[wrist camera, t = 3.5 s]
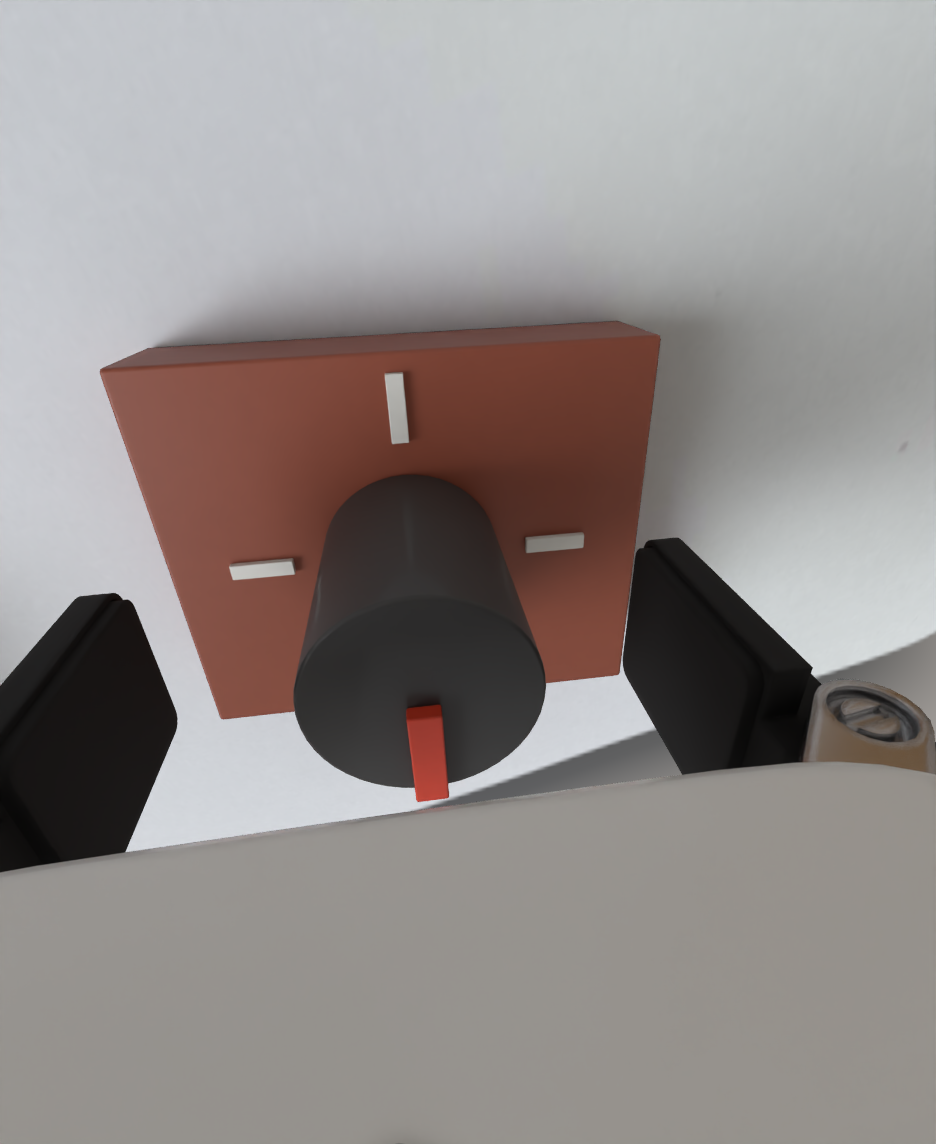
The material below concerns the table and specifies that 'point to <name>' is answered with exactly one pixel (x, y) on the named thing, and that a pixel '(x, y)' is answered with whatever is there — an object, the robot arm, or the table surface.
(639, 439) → the control panel
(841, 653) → the table surface
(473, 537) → the knob
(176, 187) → the table surface
